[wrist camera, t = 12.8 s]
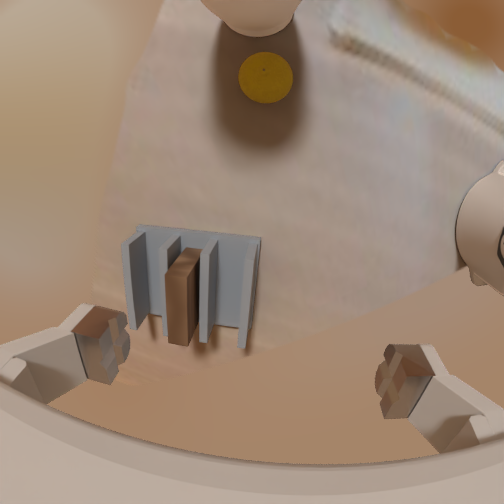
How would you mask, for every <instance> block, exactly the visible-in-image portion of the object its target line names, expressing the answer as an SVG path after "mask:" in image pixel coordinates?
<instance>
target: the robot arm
mask: <svg viewBox="0 0 504 504" xmlns="http://www.w3.org/2000/svg"><path fill="white" fill-rule="evenodd" d="M456 239H457V246H458V249H459V252H460V255H461V257H462V258H463V260H464V261H465V263H466V264H467V265H468V267H469V271H470V277H471V281H472V282H473V283H474V284H475V285H477V286H481V285H487V284H488V285H489V286H491V287H492V288H493V289H495V290H496V291H497V292H499V293H500V294H501V295H503V296H504V160H503V161H501V162H500V163H499V164H498V165H497V166H496V168H495V169H494V171H493V172H492V173H491V174H489V175H488V176H486V177H484V178H482V179H481V180H479V181H478V182H477V183H476V184H475V185H474V186H473V187H472V188H471V189H470V191H469V192H468V193H467V195H466V197H465V199H464V201H463V203H462V205H461V208H460V211H459V214H458V219H457V226H456ZM127 324H128V323H127V317H126V314H125V313H124V312H121V311H117V310H113V309H109V308H105V307H101V306H96V305H92V304H87V303H82V304H81V305H80V306H79V307H78V308H77V309H76V310H75V311H74V312H73V313H72V314H71V315H70V316H69V317H68V318H67V319H66V320H65V321H64V322H63V323H62V324H61V325H60V326H59V327H58V328H55V327H52V328H49V329H46V330H43V331H40V332H37V333H35V334H32V335H29V336H25V337H23V338H20V339H17V340H14V341H11V342H8V343H5V344H2V345H0V504H504V409H503V408H502V407H500V406H499V405H497V404H496V403H494V402H493V401H491V400H490V399H488V398H487V397H485V396H484V395H482V394H481V393H479V392H478V391H476V390H475V389H473V388H472V387H470V386H469V385H467V384H466V383H464V382H462V381H461V380H460V379H459V378H457V377H455V376H454V375H449V373H448V371H447V370H446V368H445V366H444V364H443V362H442V360H441V359H440V357H439V355H438V354H437V352H436V350H435V348H434V347H433V346H432V345H431V344H416V345H407V344H406V345H404V344H389V345H388V346H387V348H386V349H385V352H384V357H385V361H384V362H382V363H381V364H380V365H379V366H378V369H377V372H376V377H375V388H376V392H377V394H378V395H380V396H381V397H382V400H381V402H380V406H381V410H382V413H383V416H384V419H396V418H397V419H398V418H408V420H409V421H410V422H411V423H412V425H413V426H414V427H415V428H416V429H417V430H418V431H419V432H420V433H421V434H422V435H423V436H424V437H425V438H426V439H427V440H428V441H429V442H430V443H431V445H432V446H433V447H434V448H435V449H436V450H437V451H438V452H439V453H440V454H436V455H431V456H425V457H418V458H411V459H404V460H395V461H385V462H374V463H360V464H289V463H273V462H261V461H252V460H243V459H235V458H228V457H221V456H215V455H209V454H203V453H198V452H192V451H188V450H183V449H178V448H174V447H169V446H165V445H161V444H157V443H153V442H150V441H146V440H142V439H139V438H135V437H132V436H128V435H125V434H122V433H118V432H116V431H112V430H109V429H106V428H104V427H101V426H98V425H95V424H92V423H90V422H87V421H84V420H81V419H79V418H77V417H74V416H72V415H69V414H67V413H64V412H62V411H59V410H57V409H55V408H52V407H50V406H48V405H46V404H48V403H50V402H51V401H53V400H55V399H56V398H58V397H60V396H61V395H63V394H65V393H67V392H68V391H70V390H71V389H73V388H75V387H76V386H78V385H80V384H82V383H83V382H85V381H87V379H91V380H94V381H97V382H101V383H105V384H108V385H111V383H112V382H113V380H114V378H115V377H116V375H117V374H118V372H119V370H118V365H120V364H122V363H124V362H125V360H126V359H127V357H128V354H129V350H130V336H129V334H128V333H127V331H126V330H125V329H124V328H125V327H126V325H127Z"/></svg>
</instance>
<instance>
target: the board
mask: <svg viewBox="0 0 504 504" xmlns="http://www.w3.org/2000/svg"><path fill="white" fill-rule="evenodd" d="M202 250H203V249H197V248H188V247H186V248H185V249H184V250H183V252H182V253H181V254H180V255H179V257H178V258H177V259H176V260H175V262H174V263H173V264H172V266H171V267H170V268H169V269H168V271H167V272H166V273H165V297H166V315H167V330H168V343H171V344H176V345H182V346H189V343H190V341H191V338H192V336H193V334H194V331H195V329H196V326H197V324H198V322H199V299H200V253H201V252H202Z"/></svg>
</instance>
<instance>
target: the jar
mask: <svg viewBox="0 0 504 504" xmlns="http://www.w3.org/2000/svg"><path fill="white" fill-rule="evenodd" d="M301 1H302V0H201V2H202V3H203V4H204V5H205V6H206V7H207V8H208V9H209V10H210V11H211V12H212V13H214V14H215V15H216V16H218V17H219V18H220V19H221V20H223V21H224V22H225V23H226V24H227V25H228V26H229V27H230V28H231V29H232V30H234V31H235V32H237V33H240V34H242V35H246V36H251V37H264V36H269V35H272V34H275V33H277V32H279V31H281V30H282V29H283V28H285V27H286V26H287V25H288V23H289V22H290V21H291V19H292V16H293V13H294V12H295V10H296V9H297V7H298V5H299V4H300V2H301Z"/></svg>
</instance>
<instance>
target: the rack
mask: <svg viewBox="0 0 504 504" xmlns="http://www.w3.org/2000/svg"><path fill="white" fill-rule="evenodd" d="M136 231H137V232H136V233H135V234H133V235H132V236H131V237H129V238H128V239H127V240H126V241H124V242H123V243H122V244H121V249H122V262H123V273H124V284H125V293H126V302H127V310H128V317H129V324H130V329H133V330H137V329H138V328H139V326H140V325H141V323H142V322H143V320H144V319H145V317H146V316H147V314H148V313H149V314H154V315H160V316H162V324H163V336H168V330H167V315H166V297H165V273H166V272H167V271H168V269H169V268H170V267H171V266H172V264H173V263H174V262H175V260H176V259H177V258H178V257H179V255H180V254H181V253H182V252H183V250H184V249H185V248H186V247H188V248H197V249H203V250H202V252H201V253H200V299H199V342H203V343H207V342H208V339H209V336H210V334H211V331H212V328H213V325H214V324H216V325H223V326H231V327H238V328H239V333H238V345H237V347H238V348H245V347H246V342H247V336H248V330H249V329H251V326H252V318H253V308H254V299H255V290H256V280H257V271H258V261H259V252H260V242H261V237H253V236H244V235H235V234H226V233H217V232H207V231H198V230H188V229H179V228H169V227H159V226H149V225H138V226H137V227H136Z"/></svg>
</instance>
